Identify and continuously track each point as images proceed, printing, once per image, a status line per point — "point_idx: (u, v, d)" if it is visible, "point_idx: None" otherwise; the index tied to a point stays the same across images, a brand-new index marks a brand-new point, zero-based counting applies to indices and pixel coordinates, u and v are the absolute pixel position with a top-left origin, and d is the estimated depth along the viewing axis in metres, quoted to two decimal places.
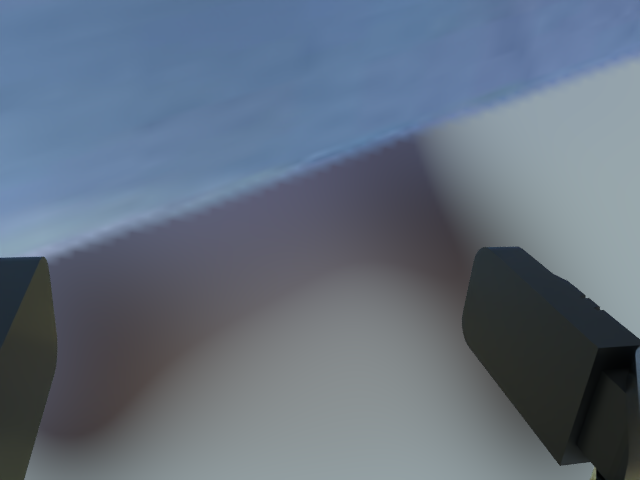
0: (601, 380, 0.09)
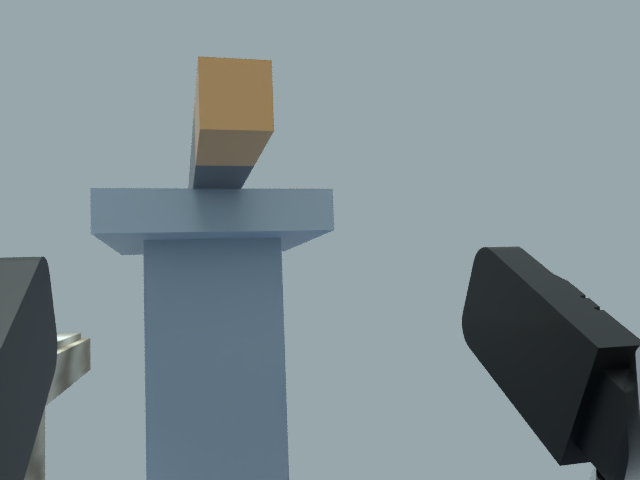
0: (601, 380, 0.09)
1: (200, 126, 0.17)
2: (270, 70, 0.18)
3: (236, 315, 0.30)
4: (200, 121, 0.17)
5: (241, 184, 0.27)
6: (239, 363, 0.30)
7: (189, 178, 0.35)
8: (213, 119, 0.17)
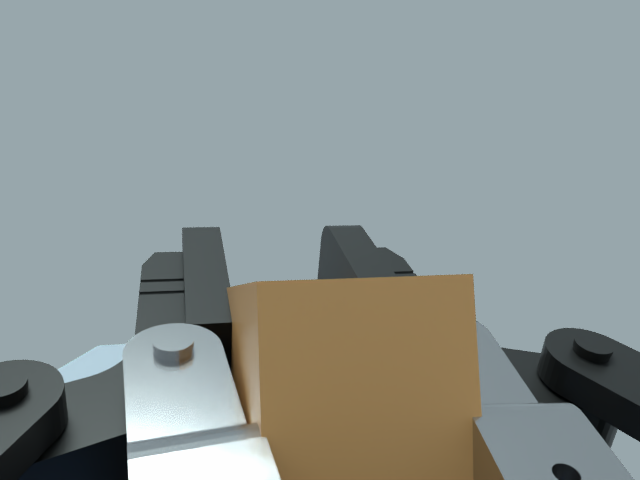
0: None
1: None
2: (471, 305, 0.06)
3: None
4: None
5: None
6: None
7: None
8: None
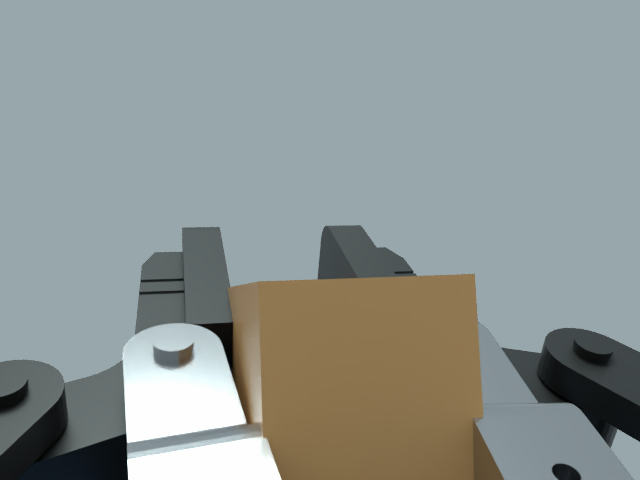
0: None
1: None
2: (472, 305, 0.06)
3: None
4: None
5: None
6: None
7: None
8: None
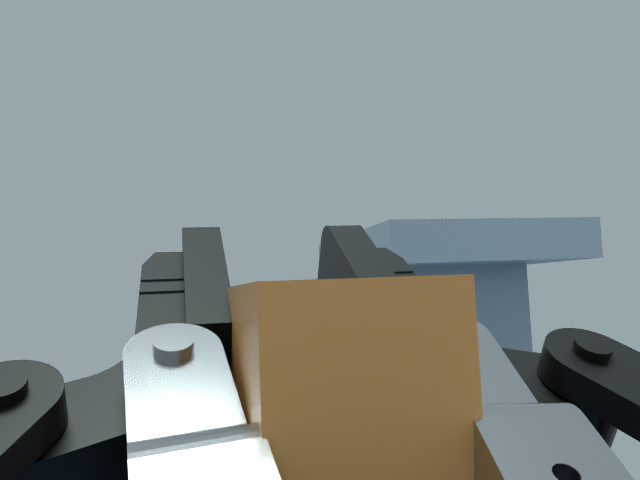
0: None
1: None
2: (471, 306, 0.06)
3: None
4: None
5: None
6: None
7: None
8: None
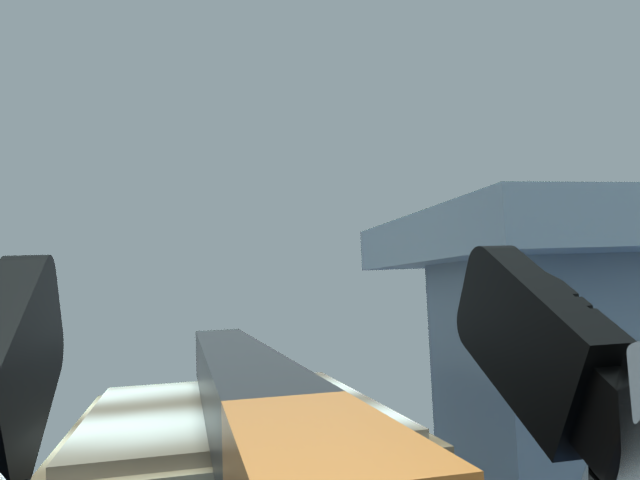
0: (593, 377, 0.09)
1: None
2: None
3: None
4: None
5: None
6: None
7: (200, 350, 0.22)
8: None
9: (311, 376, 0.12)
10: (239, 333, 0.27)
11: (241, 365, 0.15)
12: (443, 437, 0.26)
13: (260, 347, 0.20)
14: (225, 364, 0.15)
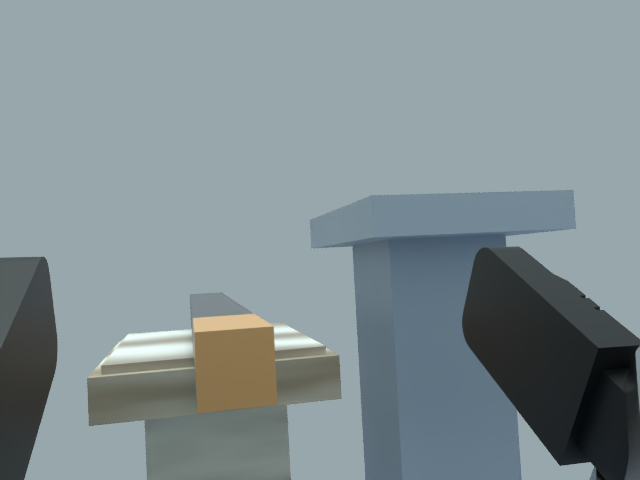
0: (600, 379, 0.09)
1: (198, 408, 0.16)
2: (272, 337, 0.17)
3: None
4: (198, 404, 0.16)
5: None
6: None
7: None
8: (212, 400, 0.16)
9: (243, 310, 0.24)
10: None
11: (210, 308, 0.26)
12: (363, 365, 0.38)
13: (228, 300, 0.31)
14: (201, 307, 0.26)
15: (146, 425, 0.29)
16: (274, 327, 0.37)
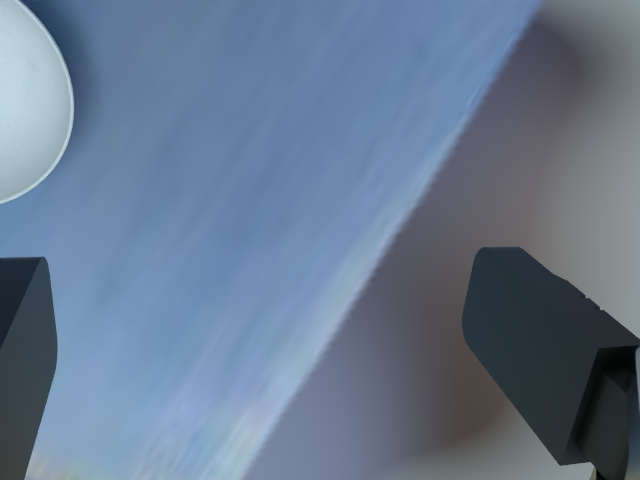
0: (600, 379, 0.09)
1: None
2: None
3: None
4: None
5: None
6: None
7: None
8: None
9: None
10: None
11: None
12: None
13: None
14: None
15: None
16: None
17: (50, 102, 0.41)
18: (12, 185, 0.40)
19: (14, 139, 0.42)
